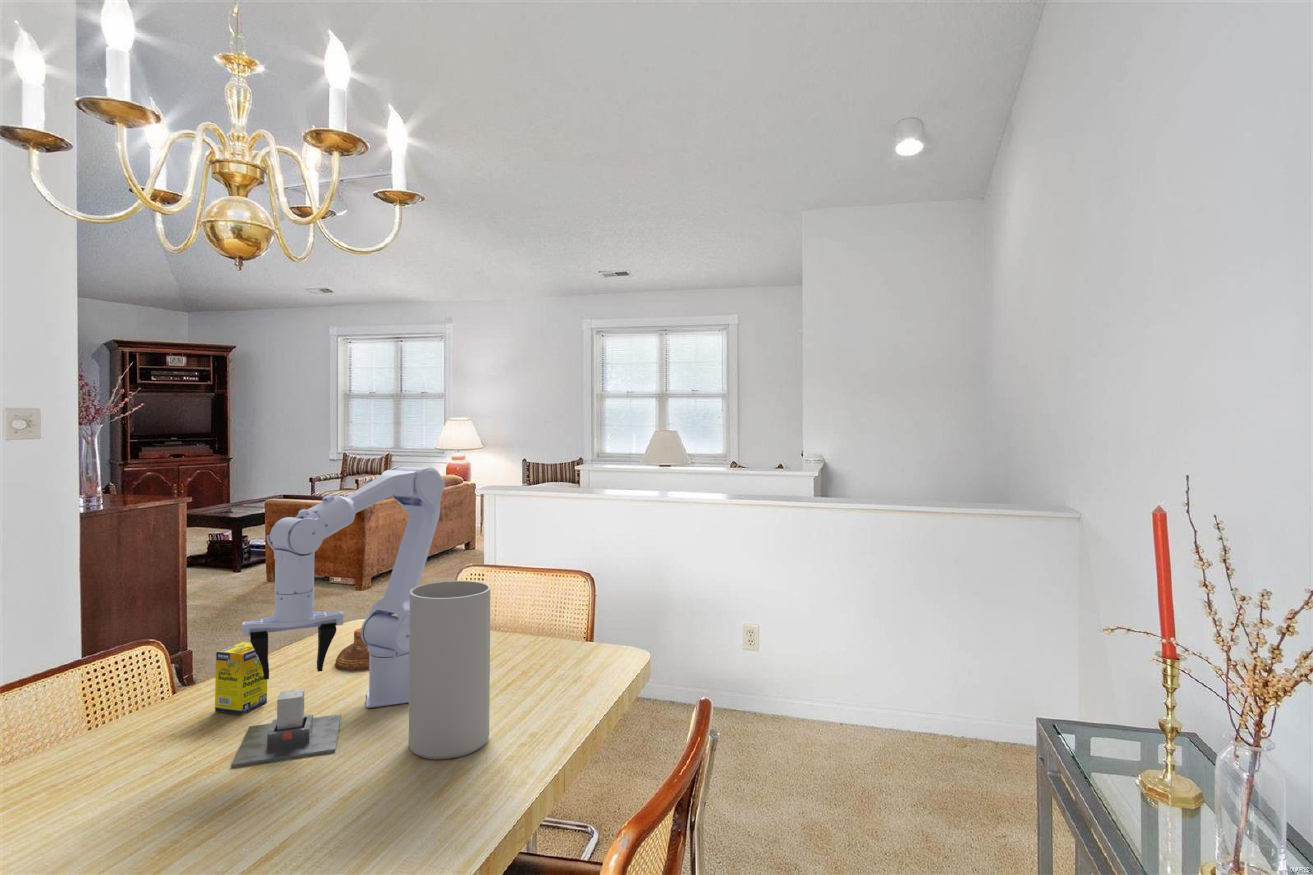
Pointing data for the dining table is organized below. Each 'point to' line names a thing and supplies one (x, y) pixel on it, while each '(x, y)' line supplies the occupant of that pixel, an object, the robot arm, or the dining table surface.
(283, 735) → the stand base
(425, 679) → the cylinder vase
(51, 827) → the dining table surface
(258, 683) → the supplement box
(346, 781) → the dining table surface
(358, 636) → the bell
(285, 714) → the column
